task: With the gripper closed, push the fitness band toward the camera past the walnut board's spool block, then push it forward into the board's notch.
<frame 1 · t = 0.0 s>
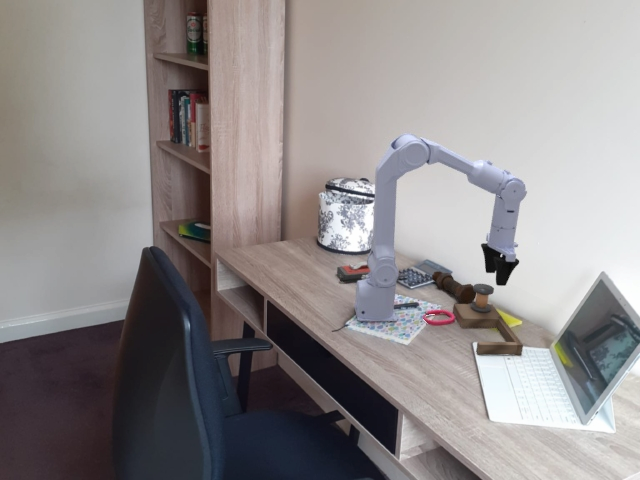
hand: (495, 278, 144), 10 cm above the table, fingers open, 7 cm apart
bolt: (450, 293, 160), on the table
notched board: (486, 339, 136), on the table
fitness band: (438, 321, 145), on the table
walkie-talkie: (370, 279, 168), on the table
spool: (480, 308, 145), resting on notched board
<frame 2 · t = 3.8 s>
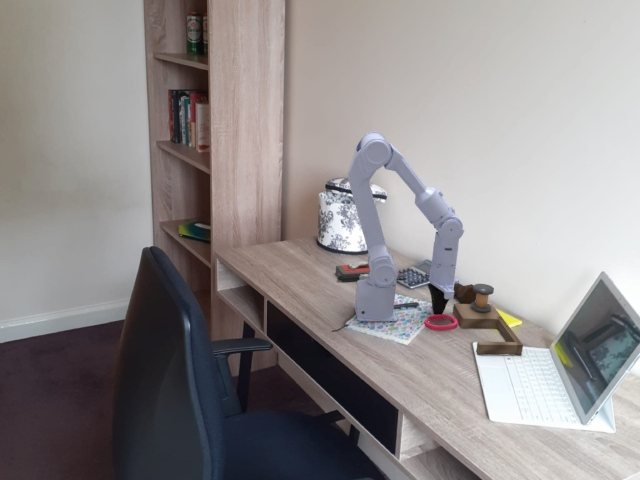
hand: (437, 313, 145), 1 cm above the table, fingers closed
fitness band: (440, 325, 142), on the table, touching gripper
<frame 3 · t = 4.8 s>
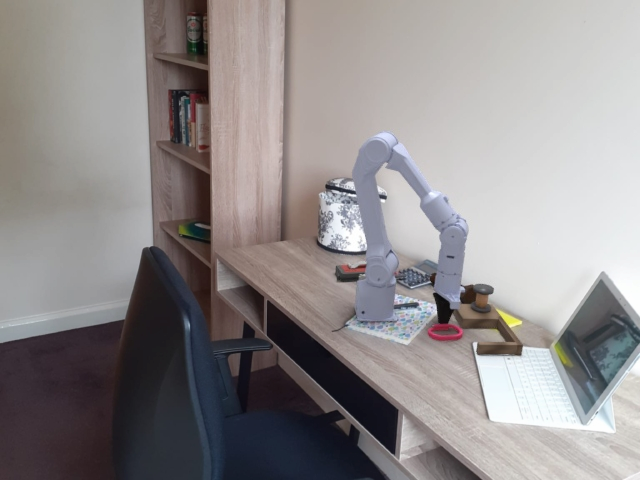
hand: (443, 323, 141), 1 cm above the table, fingers closed
fitness band: (444, 335, 138), on the table, touching gripper
everything else where it was.
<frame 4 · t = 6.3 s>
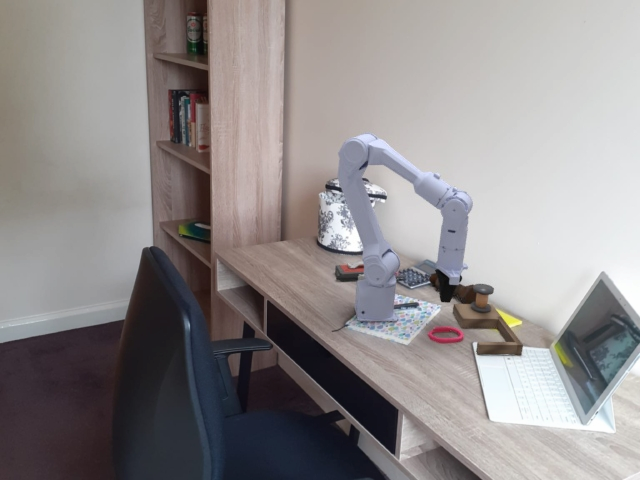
hand: (445, 301, 137), 7 cm above the table, fingers closed
fitness band: (445, 338, 137), on the table
everything else where it was.
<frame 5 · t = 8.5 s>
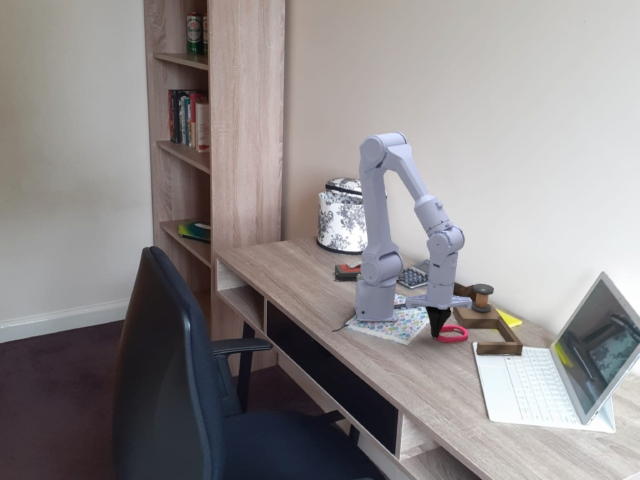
hand: (434, 335, 135), 1 cm above the table, fingers closed
fitness band: (450, 337, 137), on the table, touching gripper
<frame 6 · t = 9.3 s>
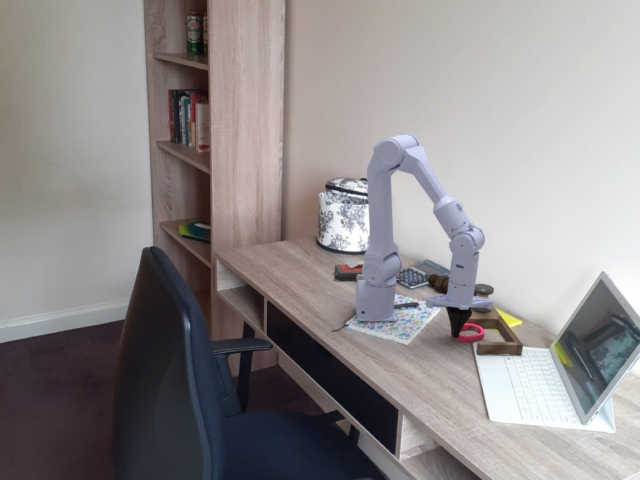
hand: (454, 335, 135), 1 cm above the table, fingers closed
fitness band: (467, 336, 138), on the table, touching gripper
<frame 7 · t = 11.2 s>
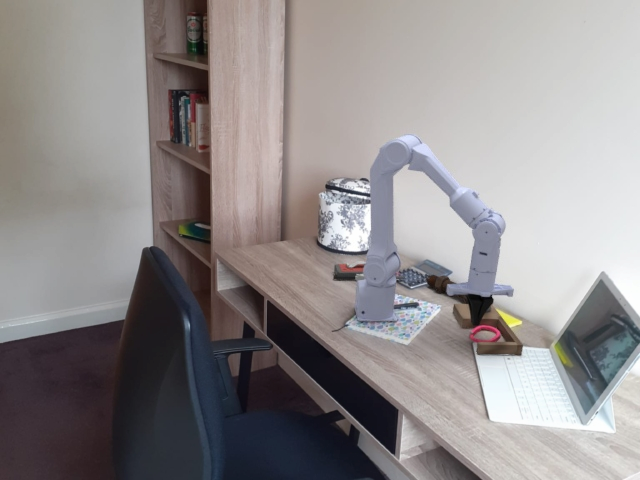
hand: (474, 323, 134), 4 cm above the table, fingers closed
fitness band: (484, 338, 138), on the table
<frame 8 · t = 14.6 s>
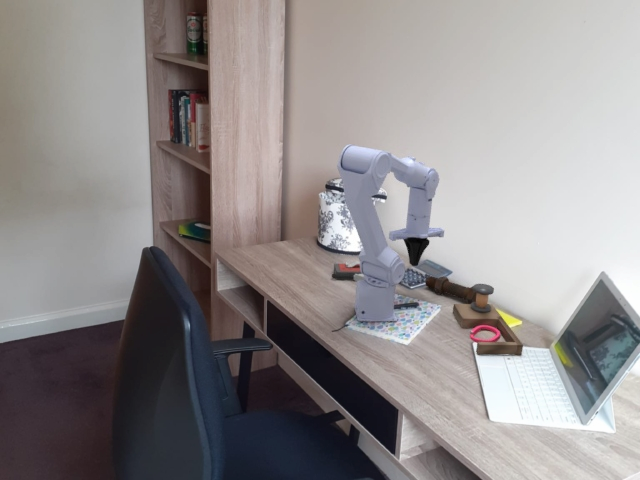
hand: (413, 264, 152), 9 cm above the table, fingers closed
at the end: fitness band inside the target area (1.8 cm from its centre), on the table; fitness band moved 12.2 cm from its start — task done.
